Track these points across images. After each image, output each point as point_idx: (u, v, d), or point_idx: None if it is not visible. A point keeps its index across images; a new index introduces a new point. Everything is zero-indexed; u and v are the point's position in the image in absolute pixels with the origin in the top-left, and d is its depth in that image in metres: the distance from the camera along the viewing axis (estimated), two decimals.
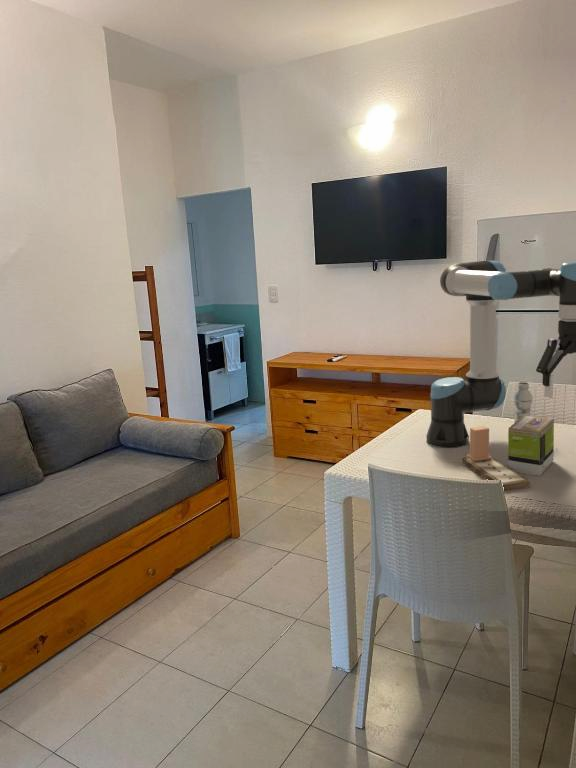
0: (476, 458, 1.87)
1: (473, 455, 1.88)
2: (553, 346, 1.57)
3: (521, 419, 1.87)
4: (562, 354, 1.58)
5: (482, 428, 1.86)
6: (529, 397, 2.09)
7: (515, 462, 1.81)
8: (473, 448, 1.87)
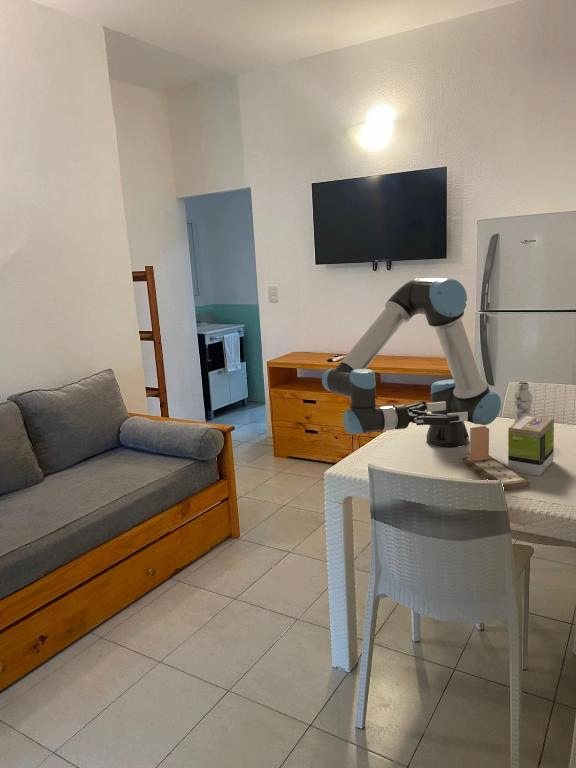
0: (476, 458, 1.87)
1: (473, 455, 1.88)
2: None
3: (521, 419, 1.87)
4: None
5: (482, 428, 1.86)
6: (529, 397, 2.09)
7: (515, 462, 1.81)
8: (473, 448, 1.87)
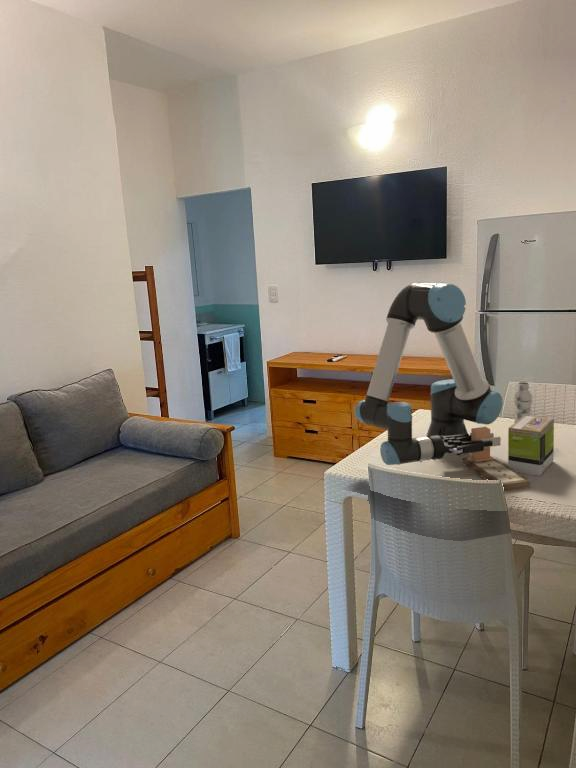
0: (477, 459, 1.86)
1: (474, 456, 1.87)
2: None
3: (521, 419, 1.87)
4: None
5: (483, 429, 1.86)
6: (529, 397, 2.09)
7: (515, 462, 1.81)
8: None
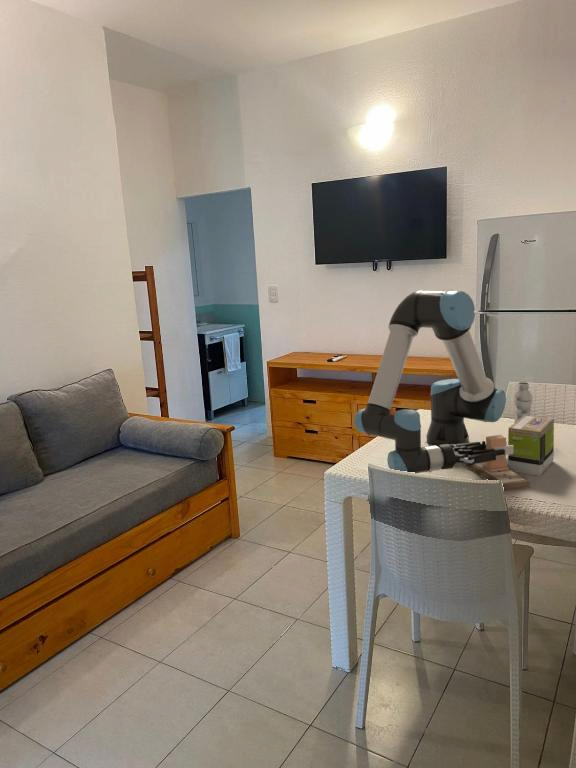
0: (492, 469, 1.77)
1: (489, 465, 1.78)
2: None
3: (521, 419, 1.87)
4: None
5: (499, 437, 1.77)
6: (529, 397, 2.09)
7: (515, 462, 1.81)
8: None
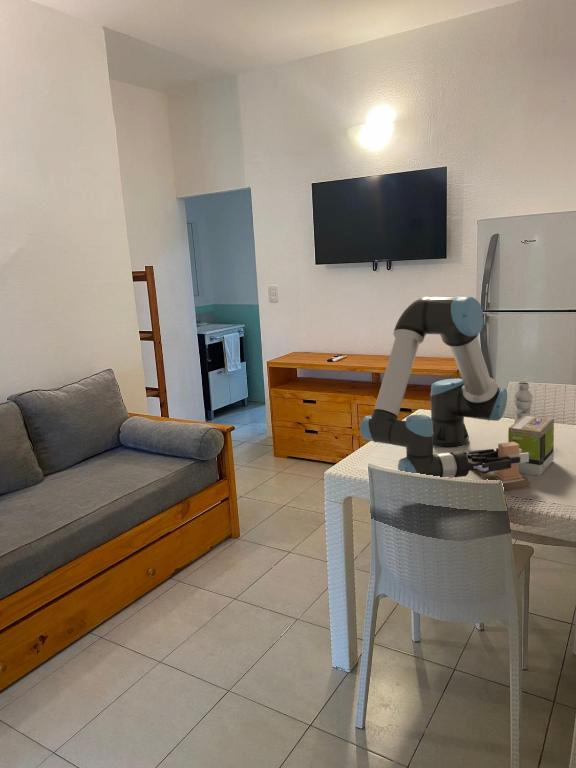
0: (505, 477, 1.70)
1: (501, 474, 1.71)
2: None
3: (521, 419, 1.87)
4: None
5: (511, 444, 1.70)
6: (529, 397, 2.09)
7: None
8: None
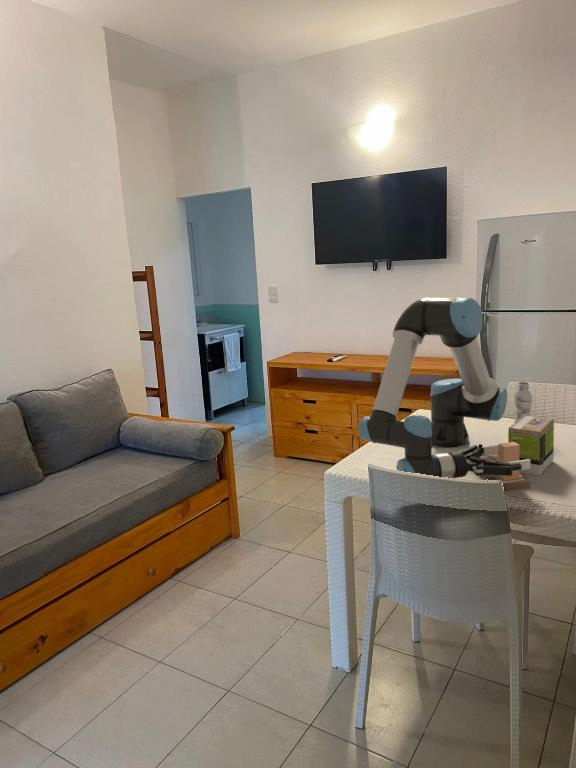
0: (505, 477, 1.70)
1: None
2: None
3: (521, 419, 1.87)
4: None
5: (512, 444, 1.70)
6: (529, 397, 2.09)
7: None
8: None
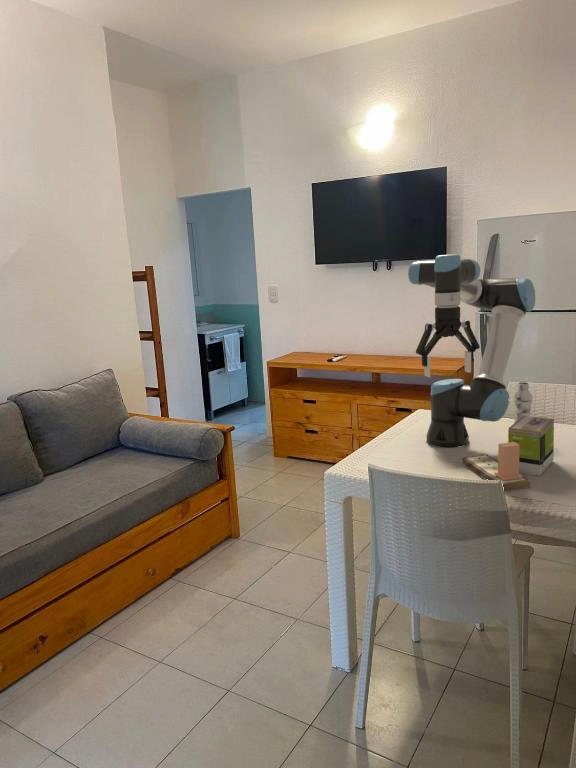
0: (505, 477, 1.70)
1: (502, 474, 1.71)
2: (428, 330, 1.75)
3: (521, 419, 1.87)
4: (437, 337, 1.76)
5: (512, 444, 1.70)
6: (529, 397, 2.09)
7: None
8: (502, 466, 1.71)
